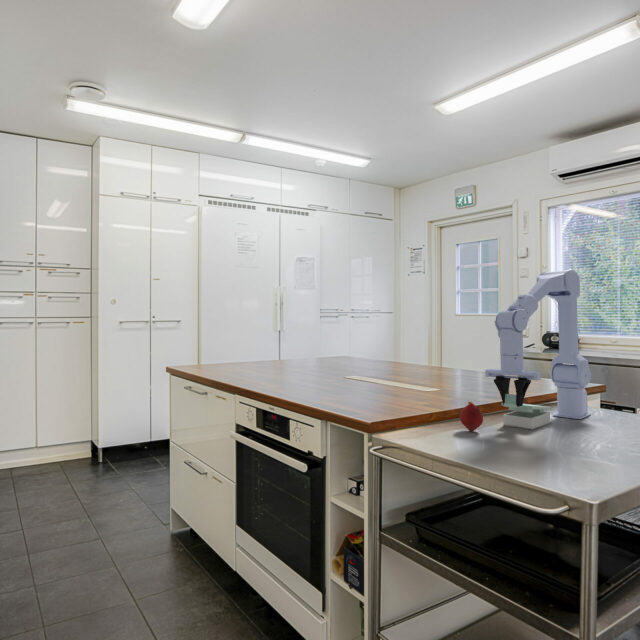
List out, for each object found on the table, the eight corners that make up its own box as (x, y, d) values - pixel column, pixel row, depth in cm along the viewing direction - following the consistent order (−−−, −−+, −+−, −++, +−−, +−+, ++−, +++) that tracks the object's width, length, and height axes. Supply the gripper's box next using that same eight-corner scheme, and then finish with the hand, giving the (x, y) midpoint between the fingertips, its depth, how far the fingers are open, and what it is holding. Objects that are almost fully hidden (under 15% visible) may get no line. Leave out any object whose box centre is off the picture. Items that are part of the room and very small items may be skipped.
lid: (521, 409, 145) (521, 394, 145) (551, 413, 139) (551, 397, 139) (494, 408, 133) (495, 392, 134) (525, 412, 127) (526, 395, 128)
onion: (480, 428, 133) (479, 399, 133) (485, 433, 127) (484, 403, 127) (458, 428, 133) (458, 399, 133) (462, 433, 128) (462, 403, 128)
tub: (522, 418, 145) (522, 408, 145) (550, 422, 139) (550, 412, 139) (503, 425, 136) (503, 414, 136) (532, 429, 131) (531, 418, 131)
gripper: (479, 354, 134) (480, 404, 134) (532, 356, 124) (533, 410, 124) (491, 353, 139) (492, 400, 139) (543, 355, 128) (544, 406, 128)
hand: (512, 405), depth 132 cm, fingers closed on lid, 3 cm apart
